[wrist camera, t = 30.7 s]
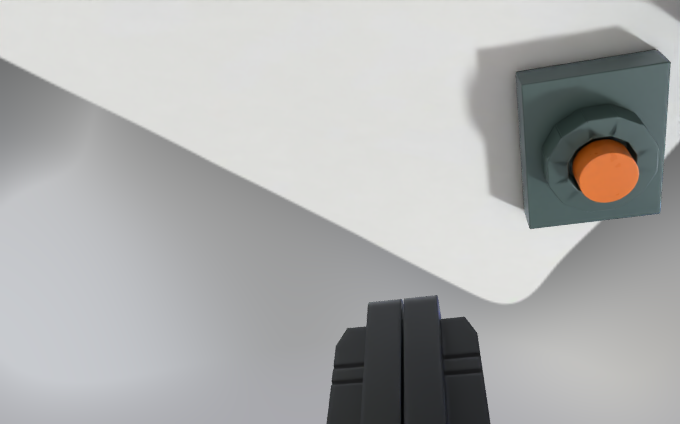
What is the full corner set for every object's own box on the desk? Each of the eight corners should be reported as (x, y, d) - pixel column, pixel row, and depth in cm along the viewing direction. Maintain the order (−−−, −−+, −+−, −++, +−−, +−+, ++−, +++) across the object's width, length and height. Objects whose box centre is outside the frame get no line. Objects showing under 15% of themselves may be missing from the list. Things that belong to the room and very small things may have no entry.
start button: (571, 143, 36) (578, 157, 35) (630, 135, 36) (640, 148, 34) (572, 191, 38) (579, 206, 37) (629, 183, 38) (638, 199, 36)
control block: (515, 71, 38) (526, 97, 35) (657, 48, 37) (683, 73, 33) (524, 211, 43) (534, 245, 40) (649, 196, 42) (670, 229, 39)
